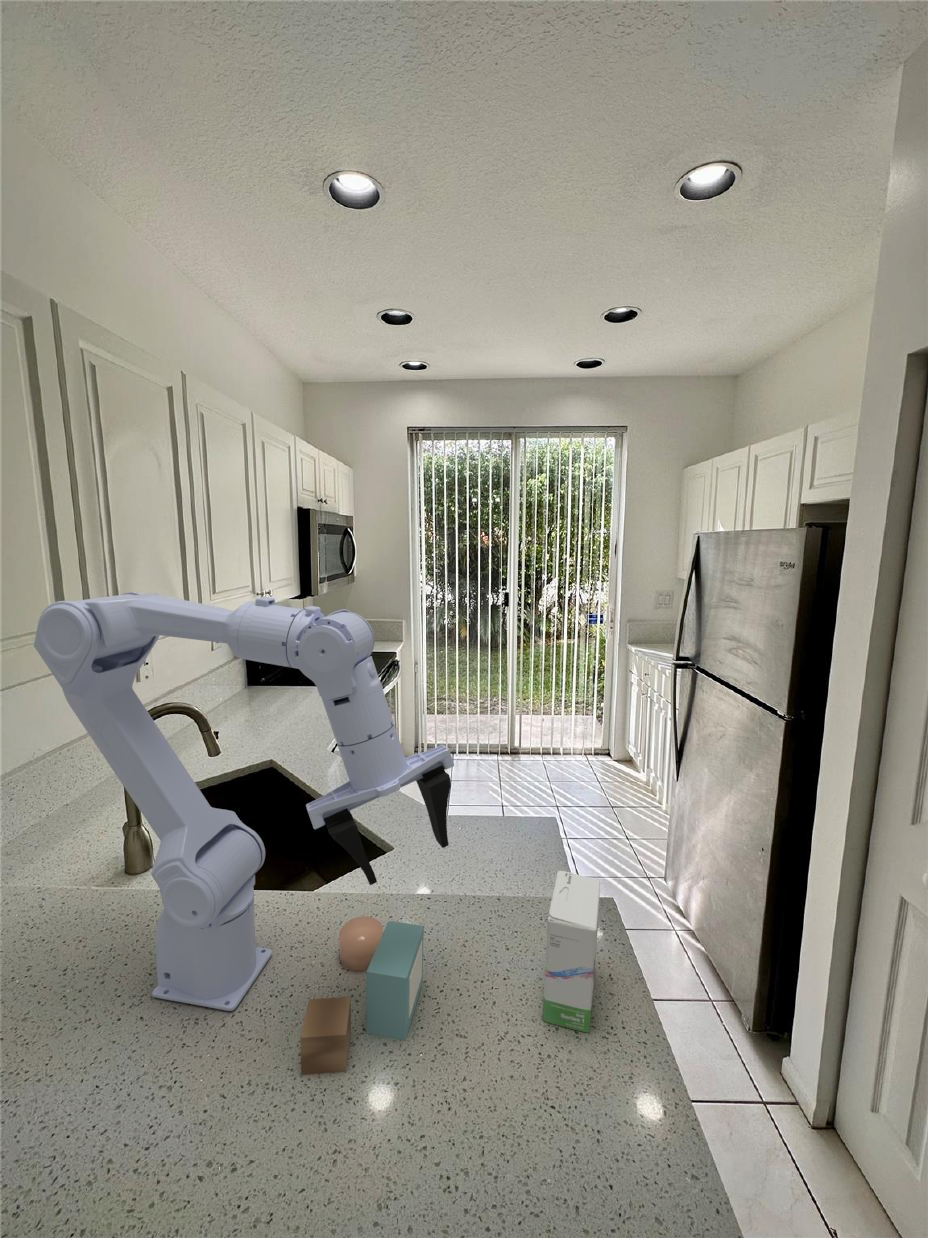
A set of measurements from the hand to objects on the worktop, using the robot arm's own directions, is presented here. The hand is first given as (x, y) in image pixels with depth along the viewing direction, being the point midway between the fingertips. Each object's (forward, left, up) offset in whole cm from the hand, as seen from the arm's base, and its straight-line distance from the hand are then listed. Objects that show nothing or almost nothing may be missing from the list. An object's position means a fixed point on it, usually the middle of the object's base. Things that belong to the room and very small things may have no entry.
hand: (408, 860), depth 52 cm
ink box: (+17, +5, -17) cm, 24 cm away
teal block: (-1, 0, -17) cm, 17 cm away
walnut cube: (-6, -6, -17) cm, 19 cm away
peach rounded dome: (-7, +6, -17) cm, 19 cm away
